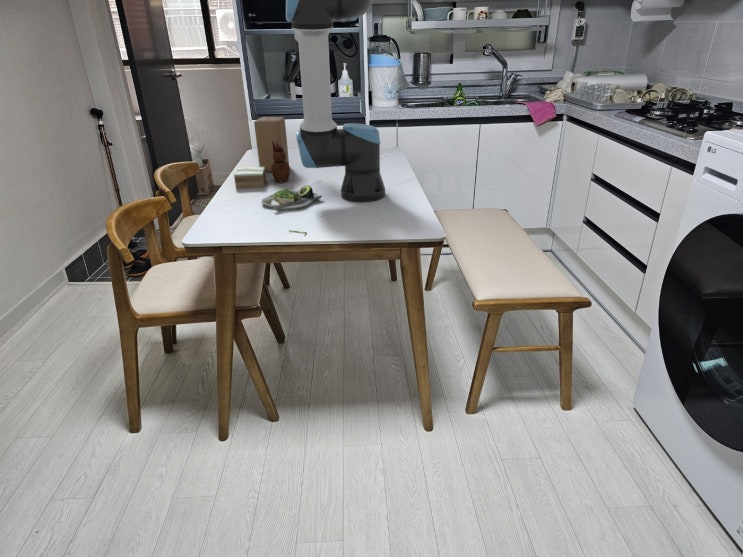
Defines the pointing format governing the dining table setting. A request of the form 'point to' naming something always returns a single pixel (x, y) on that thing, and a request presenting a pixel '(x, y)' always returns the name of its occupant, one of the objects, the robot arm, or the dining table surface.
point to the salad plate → (291, 198)
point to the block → (270, 139)
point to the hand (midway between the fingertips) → (309, 100)
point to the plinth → (250, 177)
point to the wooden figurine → (280, 164)
